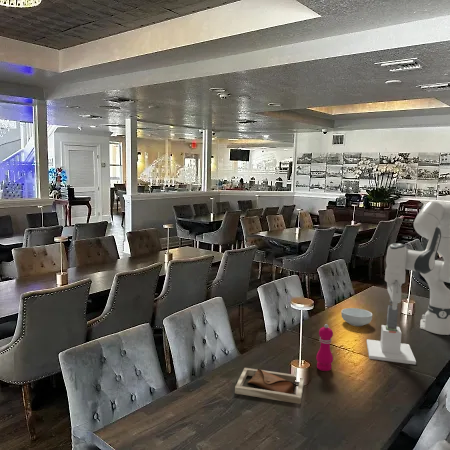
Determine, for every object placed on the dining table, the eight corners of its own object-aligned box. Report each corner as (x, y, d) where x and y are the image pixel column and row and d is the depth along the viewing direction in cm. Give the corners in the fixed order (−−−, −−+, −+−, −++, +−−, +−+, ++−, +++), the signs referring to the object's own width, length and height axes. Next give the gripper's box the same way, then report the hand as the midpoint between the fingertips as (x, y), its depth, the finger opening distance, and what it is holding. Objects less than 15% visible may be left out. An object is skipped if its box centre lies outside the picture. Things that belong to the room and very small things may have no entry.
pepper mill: (332, 372, 178) (335, 327, 175) (315, 370, 179) (318, 326, 177) (332, 365, 185) (334, 322, 182) (315, 363, 186) (317, 320, 184)
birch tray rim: (244, 373, 175) (244, 367, 175) (304, 382, 169) (304, 376, 169) (234, 393, 159) (235, 387, 159) (300, 403, 153) (300, 397, 152)
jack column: (385, 336, 201) (387, 304, 199) (394, 337, 200) (397, 305, 198) (386, 340, 197) (388, 307, 195) (396, 341, 195) (398, 308, 194)
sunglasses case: (245, 382, 166) (251, 365, 168) (254, 384, 171) (259, 368, 173) (284, 398, 155) (289, 380, 157) (292, 400, 160) (297, 383, 162)
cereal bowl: (374, 322, 240) (375, 311, 239) (367, 331, 226) (368, 319, 225) (345, 316, 249) (346, 305, 248) (337, 325, 235) (337, 313, 234)
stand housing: (366, 342, 211) (367, 318, 210) (408, 347, 206) (410, 323, 204) (369, 358, 192) (370, 333, 190) (415, 364, 187) (417, 338, 185)
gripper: (405, 284, 184) (403, 314, 185) (399, 273, 203) (397, 300, 205) (390, 283, 185) (388, 312, 187) (385, 272, 205) (383, 299, 207)
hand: (393, 306), depth 196 cm, fingers open, 8 cm apart
